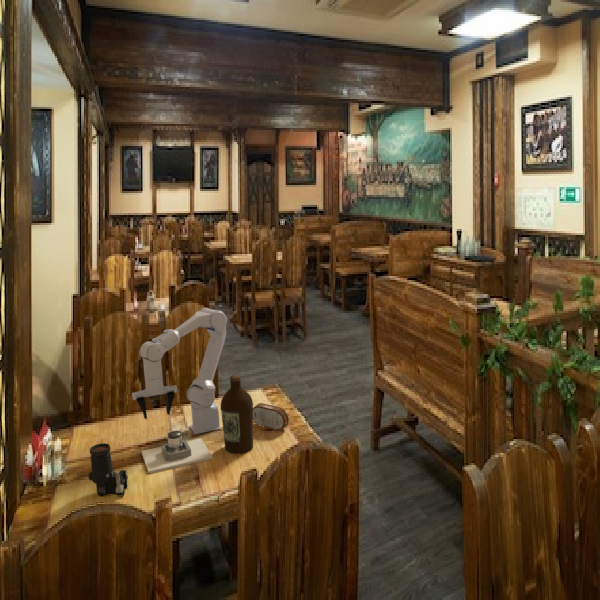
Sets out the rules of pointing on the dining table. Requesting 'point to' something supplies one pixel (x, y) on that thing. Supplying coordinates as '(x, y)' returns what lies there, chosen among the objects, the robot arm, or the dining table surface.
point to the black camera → (106, 472)
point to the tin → (270, 416)
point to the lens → (175, 441)
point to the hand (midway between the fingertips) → (157, 415)
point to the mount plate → (175, 456)
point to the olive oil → (237, 418)
